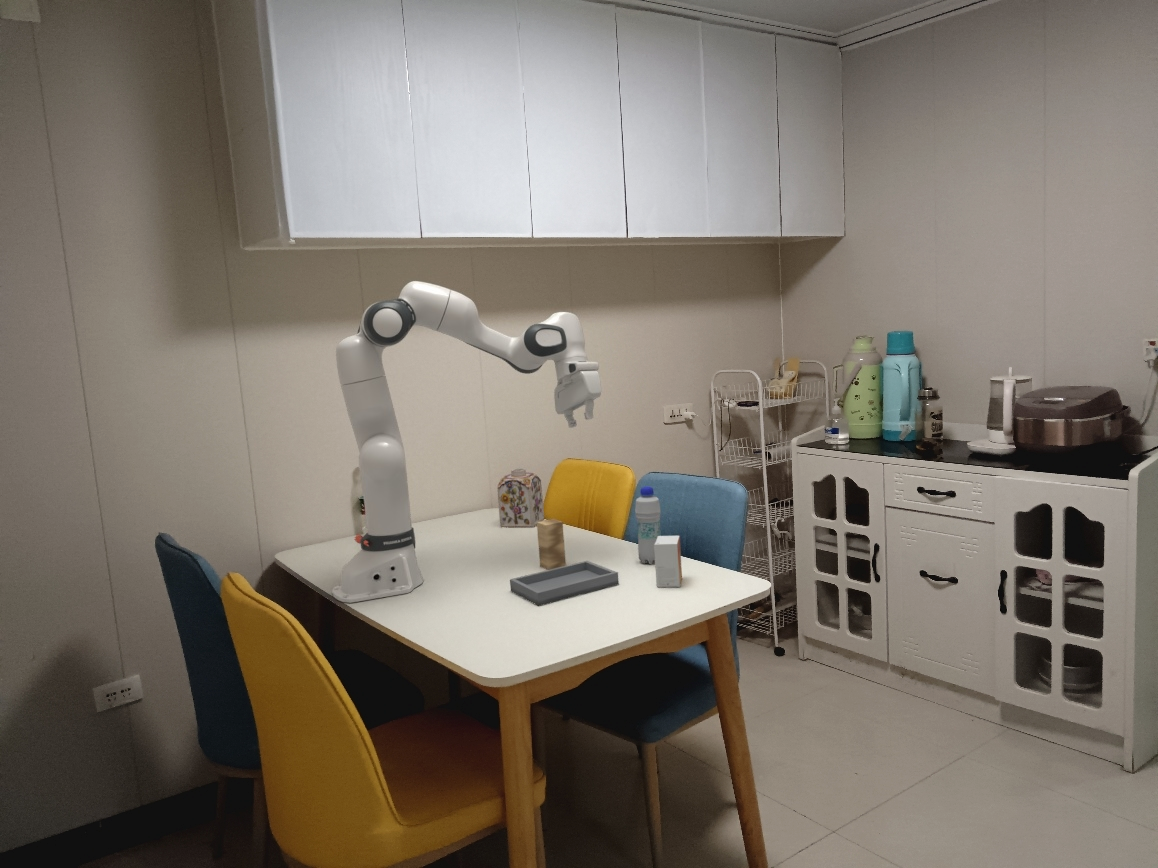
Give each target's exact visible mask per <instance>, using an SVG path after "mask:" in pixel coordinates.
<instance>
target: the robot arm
mask: <svg viewBox="0 0 1158 868" xmlns="http://www.w3.org/2000/svg"><path fill="white" fill-rule="evenodd" d="M414 326H420V327H424V328H426V329H427V328H428V329H431V330H433V331H435V332H437V333H441V334H443V335H444V334H445V335H447V336H450V337H452V338H455V339H458V340H459V341H460V342H461V341H462V342H464V343H465V344H467V345H469V346H472V347H474V348H476V349H478V350H481V351H483V352H484V353H487V354H490V355H491V356H494V357H497V358H498V359H500V360H503V361H505V362H506V363H507V364H508V365H509V366H510V367H511V368H512V369H514V370H515V371H517V372H518V373H522V374H526V375H527V374H528V375H529V374H533V373H536V372H538V371H539V370H540V369H541V368H542V366H543V365H544V364H545V363H546V362H547V361H553V362H554V367H555V374H556V375H555V376H556V380H557V382H556V383H557V384H556V386H555V388H554V392H553V393H554V394H553V398H554V399H553V400H554V409H555V412H556V414H557V415H564V418H565V420H566V421H567V424H568V428H570V429H571V428H573V429H574V428H575V427H577V420H576V419H575V418H574V411H576V410H578V409H579V408H581V407H584V406H585V411H584V412H583V416H584V419H585V420H588V421H589V420H591V419H593V418H594V406H595V402H594V401H595V400H597V399H598V398H600V397H601V396H602V395H601V394H602V384H601V378H600V373H599V372H598V371H599V367H600V366H599V363H598V362H597V361H589V360H588V356H587V354H586V351H585V347H586V340H585V335H584V332H583V327H582V324H581V321H580V319H579V317H578V316H577V314H574V313H573V312H570V311H558V312H554V313H553V314H551V315H550V316H549V317H548V318H547V319H545V320H543V321H542V322H538V323H534V324H532V325H530V326H529V327H527V328H526V329H525V330H524V331H522V333H521V335H519V336H515V337H512V336H509V335H506V334H504V333H502V332H499V331H497V330H495V329H493V328H490V327H488V326H487V325H485V324H484V323H483V322H482V321H481V319H480V316H479V311H478V308H477V305H476V304H475V302H474V301H473V300H472V299H471V298H469V297H468V296H466V295H464V294H463V293H461V292H458V291H456V290H453V289H450V288H447V287H444V286H441V285H438V284H433V283H430V282H425V281H420V280H419V281H418V280H413V281H410V282H408V283H407V284H405V286H403V288H402V289H401V291H400V292H399V296H398V298H395V299H394V298H393V299H388V300H387V299H386V300H382V301H377V302H374V303H372V304H370V305H369V306H368V307H367V308H366V309H365V310H364V312H363V314H362V316H361V320H360V323H359V326H358V330H357V333H356V334H354V335H351V336H350V335H349V336H348V337H347V336H346V337H345V338H344V339H342V340H341V341H340V342H339V343H338V344H337V345H336V349H335V353H336V354H335V358H336V368H337V375H338V380H339V383H340V387H341V388H340V389H341V391H342V395H343V399H344V403H345V407H346V411H347V414H348V418H349V421H350V424H351V428H352V431H353V435H354V438H355V441H356V445H357V449H358V451H359V454H358V465H359V466H358V467H359V474H360V481H361V482H360V483H361V489H362V496H363V503H364V511H365V521H366V522H365V523H366V531H367V532H366V533H365V534H364V535H361V534H356V535H355V537H354V540H355V543H357V544H360V548H361V549H360V550H359V551H358V552H357V553H356V554H355V555H354V556H353V557H352V558H350V560H349V561H348V562H347V563H346V564H345V565H344V566H343V567H342V570H341V573H340V584H339V585H335V586H334V587H333V588H332V593H331V594H332V596H333V598H334V599H335V600H338V601H339V602H343V603H358V602H362V601H369V600H374V599H381V598H385V597H391V596H399V595H403V594H409V593H411V592H412V591H413V590H414V589H415V588H416V587H419V586H421V585H422V583H423V582H424V578H423V575H422V571H421V570H420V567H419V563H418V559H417V555H416V544H417V543H416V535H415V530H414V527H413V525H412V517H411V516H412V515H411V506H410V496H409V484H408V483H409V482H408V473H407V462H406V454H405V448H404V443H403V438H402V436H401V431H400V427H399V425H398V424H399V422H398V419H397V417H396V412H395V407H394V404H393V400H392V397H391V396H392V395H391V392H390V387H389V384H388V380H387V375H386V372H385V368H384V365H383V364H384V363H383V352H384V350H385V349H386V348H388V347H392V346H395V345H397V344H399V343H401V341H403V340H404V339H405V338H406V336H407V335H408V333H409V332H410V331H411V330H412V328H413V327H414Z"/></svg>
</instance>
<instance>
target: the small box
mask: <svg viewBox="0 0 1158 868" xmlns="http://www.w3.org/2000/svg"><path fill="white" fill-rule="evenodd" d="M654 552H655V560H654V567H655V569H654V570H655V580H656V581H655V582H656V587H657V588H677V587H679V588H680V587H681V583H682V580H683V572H682V571H683V570H682V569H683V567H682V554H681V552H682V551H681V536H680V535H661V536H657V540H656V542H655V544H654Z"/></svg>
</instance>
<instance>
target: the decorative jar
mask: <svg viewBox="0 0 1158 868" xmlns="http://www.w3.org/2000/svg"><path fill="white" fill-rule="evenodd" d="M526 470H527V469H526V468H524V467H523V468H520V467H519V468H513V469H511V470H510V471H511V472H510V473H509V474H506V475H503V476H501V478H500V479H499V483H498V485H497V502H498V516H499V525H500V527H501V528H502V527H506V528H507V527H508V528H534V527H535V526H536V527H537V522H540V521H544V520H545V512H544V498H543V497H544V496H543V490H542V480H541V478H540V477H539V476H538V475H537V474H536V473H533V472H527V471H526Z"/></svg>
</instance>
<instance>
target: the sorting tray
mask: <svg viewBox="0 0 1158 868" xmlns="http://www.w3.org/2000/svg"><path fill="white" fill-rule="evenodd" d="M509 584H510V585H509V586H510V592H511V591H512V593H513V592H514V593H513V594H515V593H516V594H515V595H517V594H518V595H517V596H519V597H520V598H523V599H525V600H526V599H527V600H526V601H528V600H529V601H528V602H530V601H531V603H532V602H533V603H532V604H534V603H535V605H537V606H538V607H540V606H544V605H547V603H548V604H550V602H551V603H554V602H559V601H564V600H566V599H570V598H574V597H577V596H581V595H584V594H588V593H593V592H596V591H599V590H603V589H604V590H605V589H607V588H611V587H615V586H619V572H618V571H615V570H612V569H610V568H608V567H605V566H602V565H599V564H597V563H594V562H593V561H589V560H585V561H579V562H577V563H576V562H575V563H572V564H571V563H570V564H568V565H567V564H566V566H563V567H559V568H554V569H550V570H547V569H545V570H543V571H538V572H534V573H530V574H525V575H522V576H518V577H517V576H516V577H514V578H513V577H512V578H510V579H509ZM543 604H544V605H543ZM539 605H540V606H539Z"/></svg>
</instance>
